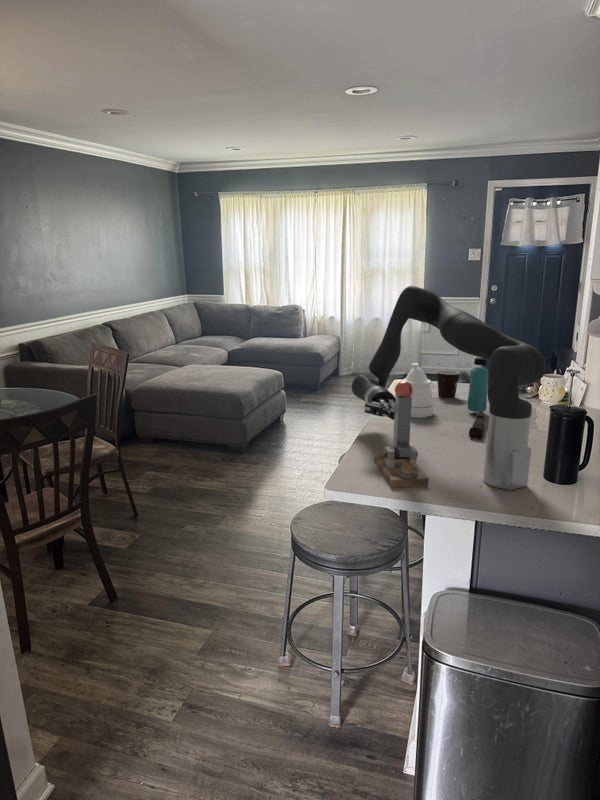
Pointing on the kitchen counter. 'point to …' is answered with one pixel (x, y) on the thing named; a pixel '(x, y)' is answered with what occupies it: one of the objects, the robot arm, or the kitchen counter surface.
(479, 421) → the hand tool
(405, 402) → the lever
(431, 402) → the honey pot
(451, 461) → the kitchen counter surface
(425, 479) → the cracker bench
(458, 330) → the robot arm
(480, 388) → the beverage bottle
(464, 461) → the kitchen counter surface
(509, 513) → the kitchen counter surface
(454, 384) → the coffee mug
